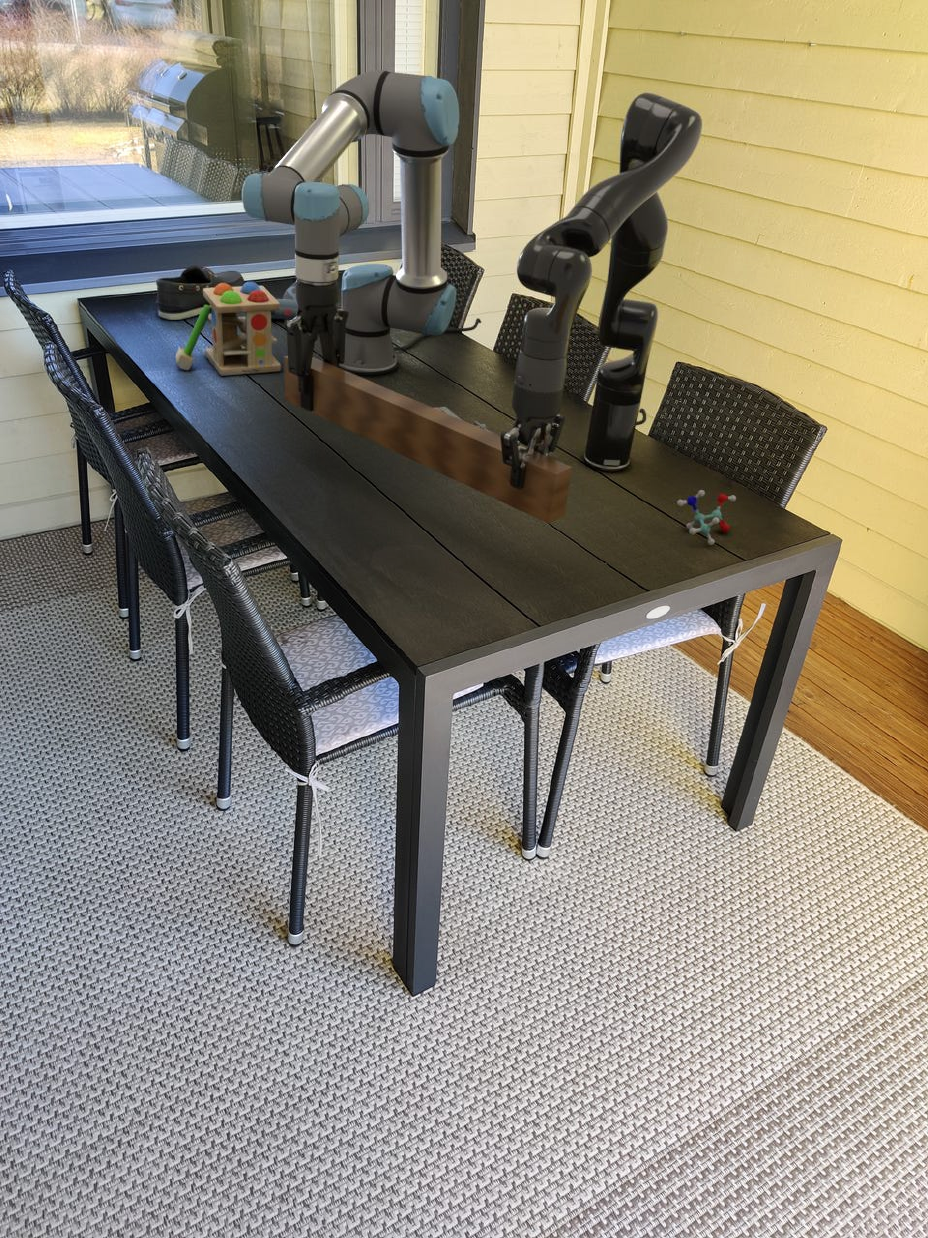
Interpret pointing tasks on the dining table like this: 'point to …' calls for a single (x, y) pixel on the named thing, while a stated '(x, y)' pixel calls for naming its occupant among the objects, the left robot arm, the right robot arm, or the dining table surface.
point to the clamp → (447, 411)
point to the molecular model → (700, 517)
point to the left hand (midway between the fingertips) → (317, 405)
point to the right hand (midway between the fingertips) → (526, 482)
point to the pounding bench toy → (229, 347)
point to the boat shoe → (190, 291)
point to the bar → (433, 439)
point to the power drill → (286, 305)
